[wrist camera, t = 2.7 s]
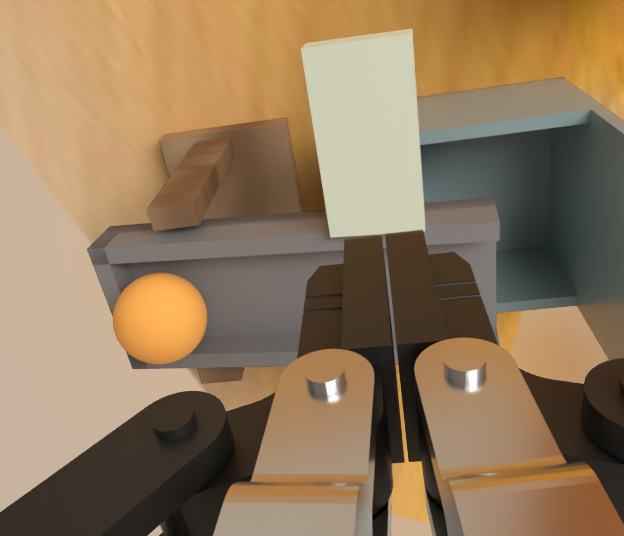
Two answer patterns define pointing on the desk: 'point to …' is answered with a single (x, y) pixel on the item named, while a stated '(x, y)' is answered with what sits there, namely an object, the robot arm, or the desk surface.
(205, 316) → the ball
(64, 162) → the desk surface
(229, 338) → the lever
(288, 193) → the stand
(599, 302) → the grey open bin
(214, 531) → the robot arm
